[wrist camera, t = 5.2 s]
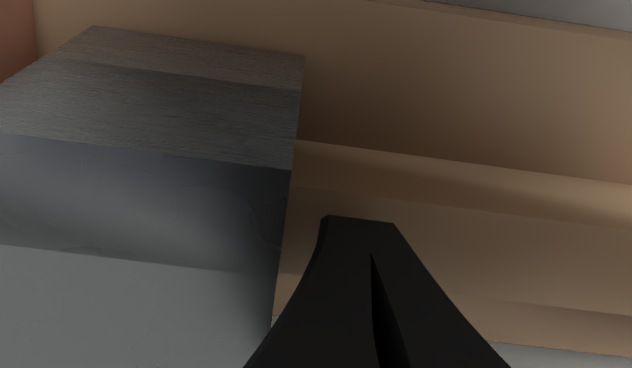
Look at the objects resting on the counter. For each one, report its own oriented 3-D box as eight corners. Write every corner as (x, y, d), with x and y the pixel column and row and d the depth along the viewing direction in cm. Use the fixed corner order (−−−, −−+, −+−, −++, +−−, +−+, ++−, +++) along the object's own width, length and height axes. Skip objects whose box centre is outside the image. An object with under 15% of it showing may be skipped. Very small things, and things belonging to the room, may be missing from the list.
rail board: (735, 345, 16) (893, 525, 11) (21, 259, 15) (-109, 421, 10) (926, 76, 12) (1279, 194, 7) (-28, -68, 11) (-272, -31, 6)
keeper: (273, 289, 13) (250, 474, 9) (106, 269, 13) (5, 449, 9) (305, 55, 10) (291, 170, 6) (93, 24, 10) (-62, 123, 6)
